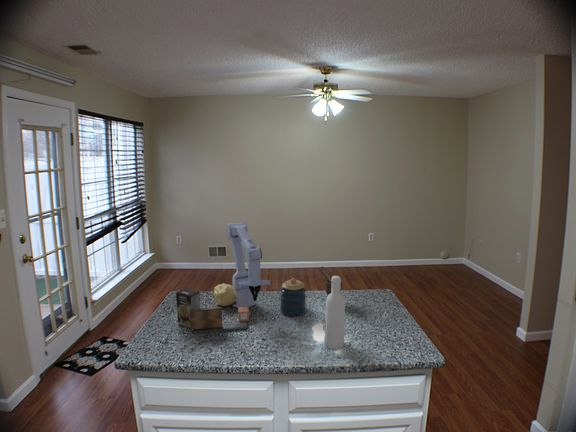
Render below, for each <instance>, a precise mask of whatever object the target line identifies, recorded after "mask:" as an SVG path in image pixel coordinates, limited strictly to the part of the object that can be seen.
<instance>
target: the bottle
mask: <svg viewBox="0 0 576 432" xmlns="http://www.w3.org/2000/svg"><path fill="white" fill-rule="evenodd" d="M331 278H332V279H331V281H332V286H331V293H330V294H329V295H327V296H326V300H325V333H324V335H325V337H324V341H325V344H324V345H325V347H327V348H328V349H331V350H341V349H342V348H344V346H345V323H346V321H345V318H346V314H345V313H346V301H345V296H344V295H343V294H342V292H341V293H340V285H341V281H342V279H341V278H342V277H340V276H339V275H332V276H331Z"/></svg>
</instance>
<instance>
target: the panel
mask: <svg viewBox="0 0 576 432" xmlns="http://www.w3.org/2000/svg"><path fill="white" fill-rule="evenodd" d="M222 308H223V306H215V307H214V306H212V307H202V308H201V307H200V309H190V326H191V328H190V330H192V331H193V329H203V328H213V327H222V324H223V309H222Z"/></svg>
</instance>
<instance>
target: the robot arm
mask: <svg viewBox="0 0 576 432" xmlns="http://www.w3.org/2000/svg"><path fill="white" fill-rule="evenodd" d="M248 228H249V227H248V224H247V223H246V222H245V221H242V222H235V223H227V225H226V236H227V239H228V241H230V242H231V245H232V252H233V258H234V264H235V269H236V272H235V273H234V274H233V275H232V278H231V279H232V283H231V284H232V286H233V289H234V290H235V291H236V300H235V303H233V304H232V307H235V308H237V309H238V307H248V308H250V307H253V306H254V305H257V300H258V295H259V293H260V291H261V289H262V287H263V286H271V280H270V279H269V280H268V279H262V278H261V275H262V274H261V260H262V259H263V251H262V248H261V247H260V246H258V245H256V243H255V242H254V239H252V238H251V237H249V235H248V231H249V229H248ZM243 251H245V258H246V263H247V270H246V264H245V258H244V252H243ZM261 286H262V287H261Z"/></svg>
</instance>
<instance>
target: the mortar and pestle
mask: <svg viewBox="0 0 576 432" xmlns="http://www.w3.org/2000/svg"><path fill="white" fill-rule="evenodd" d="M319 271H320V274H322V276H324V278H325V279H324V280H325V281H324V283H325V293H326V295H327V296H328V295H329V294H330V293H331V286H332V281H331V279H332V277H330V276H329V274H328V272H327V270H326V268H325V267H324V266H321V267H320V268H319ZM342 283H343V282H342V280H341V285H340V293H341V294H342V286H343V285H342Z"/></svg>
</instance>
